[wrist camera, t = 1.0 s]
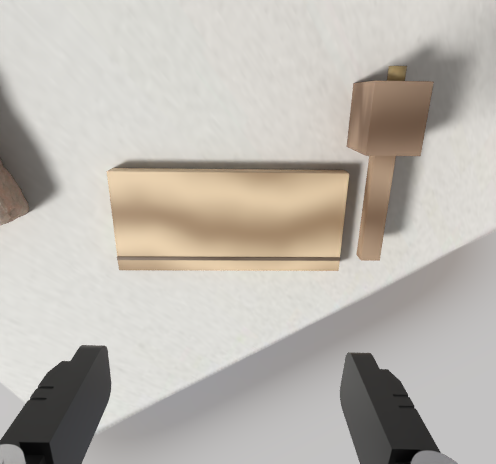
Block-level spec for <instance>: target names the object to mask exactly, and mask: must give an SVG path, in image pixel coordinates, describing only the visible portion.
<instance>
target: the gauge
mask: <svg viewBox="0 0 496 464" xmlns="http://www.w3.org/2000/svg"><path fill="white" fill-rule="evenodd" d="M406 70H407V66H389V69H388V76H387V81H368V82H360V83H354V84H353V93H352V102H351V112H350V121H349V131H348V140H347V147H349V148H351V149H353V150H355V151H357V152H359V153H361V154H364V155H366V156H369V163H368V171H367V178H366V186H365V194H364V202H363V209H362V217H361V225H360V232H359V240H358V248H357V256H358V257H359V258H360V260H380V255H381V248H382V242H383V235H384V229H385V222H386V216H387V209H388V203H389V197H390V190H391V184H392V177H393V171H394V164H395V158H396V156H421V150H422V144H423V139H424V133H425V128H426V122H427V117H428V111H429V105H430V100H431V94H432V89H433V83H434V82H431V81H405V76H406Z"/></svg>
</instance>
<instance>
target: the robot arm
mask: <svg viewBox="0 0 496 464" xmlns="http://www.w3.org/2000/svg"><path fill="white" fill-rule="evenodd" d="M110 392H111V377H110V368H109V359H108V350H107V347H106V346H93V345H82V346H80V347H79V349H78V350H77V352H76V353H75V355H74V357H73V358H72V360H71V361H62V362H60V363H59V364H58V365H57V366H55V367H54V368H53V369H52V370H50V371H49V372H48V373H47V374H46V376H45V377H44V378H43V380H42V381H41V383H40V384H39V386H38V389H36V390H35V391H34V393H33V394H32V396H31V397H30V400H28V401H27V403H26V404H25V406H24V407H23V409H22V410H21V411H20V413H19V414H18V416H17V417H16V419H15V420H14V422H13V423H12V424H11V426H10V427H9V429H8V430H7V432H6V433H5V434H4V436H3V437H2V439H1V440H0V464H82V461H83V459H84V457H85V454H86V452H87V449H88V447H89V445H90V443H91V440H92V438H93V436H94V433H95V431H96V429H97V426H98V424H99V422H100V420H101V417H102V415H103V413H104V410H105V408H106V406H107V403H108V400H109V397H110ZM340 400H341V406H342V409H343V413H344V416H345V419H346V422H347V425H348V428H349V431H350V434H351V437H352V440H353V443H354V446H355V449H356V452H357V455H358V458H359V462H360V464H457V463H456V462H455V461H454V460H452V459H451V458H449V457H448V456H446V455H444V454H441V453H440V451H439V449H438V447H437V445H436V444H435V442H434V440H433V438H432V437H431V435H430V433H429V431H428V429H427V428H426V426H425V424H424V422H423V421H422V419H421V417H420V415H419V413H418V412H417V410H416V409H415V408H414V405H413V403H412V401H411V399H410V398H409V397H408V394H407V392H406V390H405V389H404V387H403V385H402V383H401V381H400V380H398V379H397V378H396V377H395V376H394V375H393V374H392V373H391V372H390V371H389V370H386V369H385V370H383V369H379V367H378V365H377V363H376V361H375V359H374V358H373V356H372V354H371V353H347V355H346V358H345V364H344V370H343V375H342V381H341V387H340Z"/></svg>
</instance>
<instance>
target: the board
mask: <svg viewBox="0 0 496 464" xmlns="http://www.w3.org/2000/svg"><path fill="white" fill-rule="evenodd" d="M107 177H108V185H109V193H110V201H111V209H112V217H113V225H114V233H115V241H116V249H117V260H118V265H119V270H237V271H338V270H339V261H340V252H341V243H342V234H343V225H344V216H345V207H346V199H347V190H348V181H349V173H348V172H346V171H345V170H276V169H168V168H112V169H110V170H108V171H107Z"/></svg>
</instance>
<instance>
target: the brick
mask: <svg viewBox="0 0 496 464" xmlns="http://www.w3.org/2000/svg"><path fill="white" fill-rule="evenodd" d="M28 211H29V206H28V202H27V201H26V199H25V198H24V196H23V194H22V191H21V189H20V188H19V186H18V185H17V183H16V181H15V180H14V178H13V177H12V175H11V174H10V173H9V171H7V169H6V168H4V167H3V163H2V161H1V159H0V225H3V224H6V223H9V222H11V221H13V220H15V219H16V218H18V217H21V216H23V215H25V214H26V213H27V212H28Z"/></svg>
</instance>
